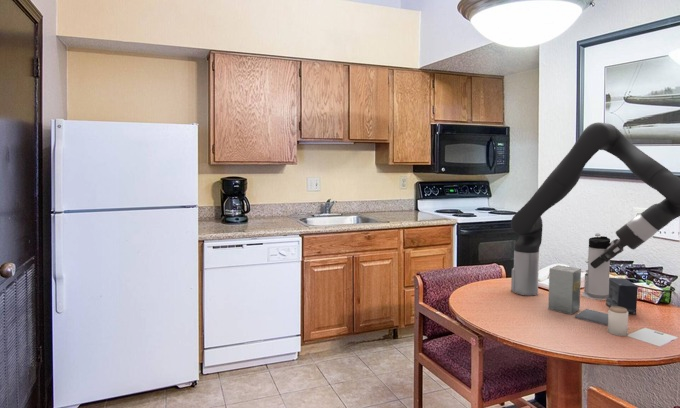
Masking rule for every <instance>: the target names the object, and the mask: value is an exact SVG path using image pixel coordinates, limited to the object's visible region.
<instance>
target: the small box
mask: <svg viewBox="0 0 680 408" xmlns="http://www.w3.org/2000/svg"><path fill="white" fill-rule="evenodd" d="M638 288H639V286H638V285H636V284H635V283H634V282H632V281H630V280H629V279H627V278H625V277H624V278H622V277H621V278H620V277H609V297H608V298H607V299H605V300H606V302H605V306H607V307H608V308H609V309H610V307H611V306H620V307H624V308H626V309H627V311H628V316H629V315H633V316H637V307H638V303H637V302H638V291H639V289H638Z"/></svg>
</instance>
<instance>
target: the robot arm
mask: <svg viewBox="0 0 680 408" xmlns="http://www.w3.org/2000/svg"><path fill="white" fill-rule="evenodd" d="M599 151H604V152H606V153H609V154H611V155H612V156H615V158H617V159H619V160H620V161H621V162H622V163H624V165H625V166H626V167H627V168H628V170H629V171H630V172H631V173H633V175H634V176H635V177H637V178H638V179H640V181H642V182H643V183H645V184H646V185H647V186H649V187H650V188H652V189H653V190H656V192H658V193H659V194H660V195H662V197H664V199H663V200H661V201H660V202H659V203H655V204H652V205H651V206H649V207H648V208H646V209H645V210H643V212H641V213H640V214H638V215H637V216H635V217H633V218H631V219H630V220H629V221H628V222H627V223H625V224H624V225H623V226H621V227H620V228H619V229H617V230H616V231H615V235H616V236H617V237H618V238H615V239H613V240H612V241H610V245H609V246H608V247H607V248H606V249H605V250H604V253H602V254H601V255H600V256H599V257H598V258H596V259H595V260H594V261H592V262H591V263H590V265H591V266H592V267H593V268H597V267H598V266H600V265H601V264H602V263H604V262H608V261H609V260H610V261H611V260H612V259H614V258H615V257H616V256H617V255H619V254H620V253H622V252H623V251H624V248H625V247H628V248H629V249H631V250H636V249H637V248H639V247H640V246H642V245H643V244H644V243H645V242H647V241H648V240H649V239H651V238H652V237H654V236H655V235H656V233H658V232H659V231H660V230H661V229H663V228H664V227H666V226H667V225H669V224H670V223H671V222H672V221H673V220H676V219H677V218H679V217H680V177H679V176H677V175H676V174H674V173H673V172H672V171H670V169H668V168H667V167H665V166H664V165H662V164H661V163H660V162H658V161H657V160H655V159H654V158H652V157H651V156H650V155H648V154H647V153H645V152H644V151H643V150H641V149H640V148H639V147H637V146H636V145H635V144H633V143H632V142H631V141H630V140H629V139H628V138H627V137H626V136H625V135H624V134H623V133H622V132H621V131H620V130H619V129H618V128H617V127H616V126H615V125H613V124H611V123H608V122H607V123H606V122H601V121H600V122H594V123H590V124H589V125H588V126H586V127H585V129H584V130H582V132H581V134H580V135H579V137H578V139H577V140H576V142H575V143H574V145H573V146H572V147H571V149H570V150H569V152H568V153H567V154H566V155H565V156H564V158H563V159H562V160H561V161H560V162H559V163H558V164H557V166H556V167H555V168H554V169H553V171H552V172H551V173H550V174H548V177H546V179H545V180H544V181H543V183H542V184H541V185H540V186H539V188H537V190H536V191H535V193H534V194H533V195H532V197H530V199H529V200H528V201H527V202H526V203H525V204H524V205H523V206H521V208H520V209H518V211H517V212H516V213H514V215H513V216H512V218H511V221H510V226H511V230H512V231H513V233H515V234H517V235H519V238H518V239H517V241H516V242H515V243H514V246H513V247H514V249H513V250H514V251H513V268H512V267H511V280H510V281H511V286H510V289H511V292H512V293H515V294H517V295H521V296H527V297H528V296H529V297H530V296H536V295H537V296H538V295H539V270H540V269H539V267H540V266H539V265H540V263H539V261H540V247H541V245H542V240H543V239H542V238H543V228H544V227H543V219H542V216H543V215H544V214H545V212H546V211H548V210H549V209H551V208H552V207H553V206H555V205H556V204H558V203H560V201H562V200H563V199H564V198H565V197H567V195H568V194H569V193H570V192H571V191H572V190H573V189H574V188H575V187H576V185H577V184H578V182H579V180H580V178H581V175H582V173H583V170H584V168H585V166H586V165H587V163H588V162H590V160H591V159H592V158H593V157H594V156H595V155H596V153H597V152H599ZM606 254H607V255H608V256H609V257H608V258H607V257H606V256H605V255H606Z"/></svg>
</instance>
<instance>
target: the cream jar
mask: <svg viewBox="0 0 680 408" xmlns="http://www.w3.org/2000/svg"><path fill="white" fill-rule="evenodd" d="M607 314H608V326H607V333H608V334H610V335H614V336H617V337H619V336H620V337H626V336H628V328H629V327H628V326H629V315H628V311H627V309H626V308H624V307H620V306H611V307H610V308H609V309H608V311H607Z"/></svg>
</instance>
